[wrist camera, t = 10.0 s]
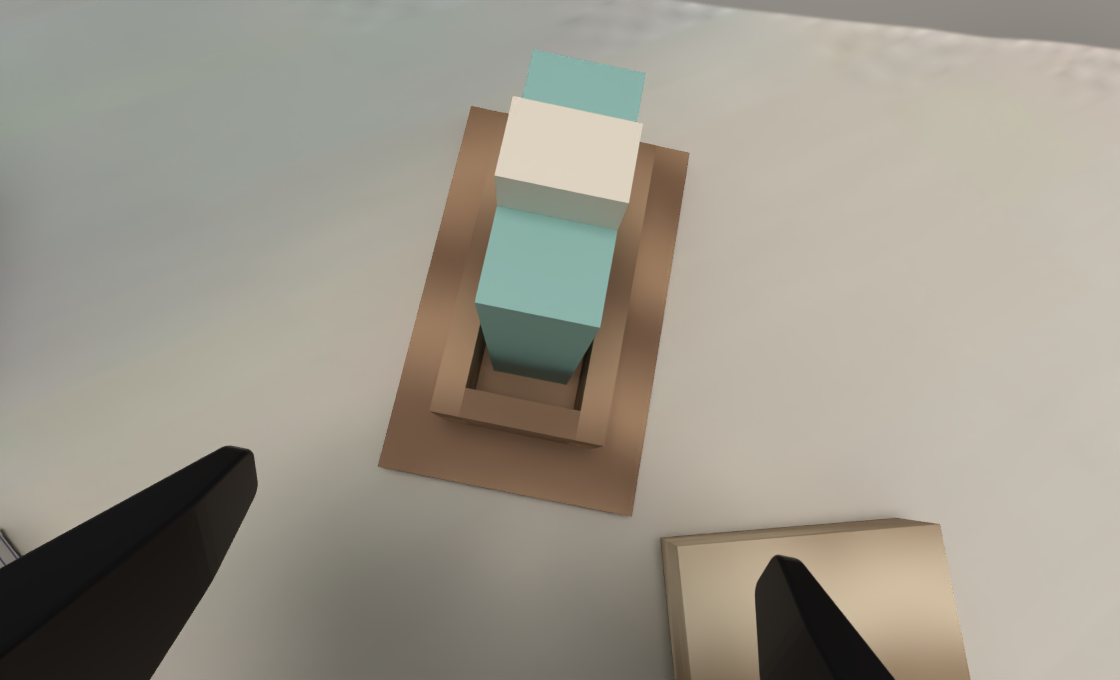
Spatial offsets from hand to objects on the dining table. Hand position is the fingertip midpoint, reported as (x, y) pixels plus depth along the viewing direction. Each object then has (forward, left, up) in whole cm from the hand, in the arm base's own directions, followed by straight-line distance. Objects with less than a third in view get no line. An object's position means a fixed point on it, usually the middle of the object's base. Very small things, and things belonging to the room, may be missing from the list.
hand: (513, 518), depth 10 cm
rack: (+8, -2, -14) cm, 16 cm away
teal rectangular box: (+8, -2, -13) cm, 15 cm away
